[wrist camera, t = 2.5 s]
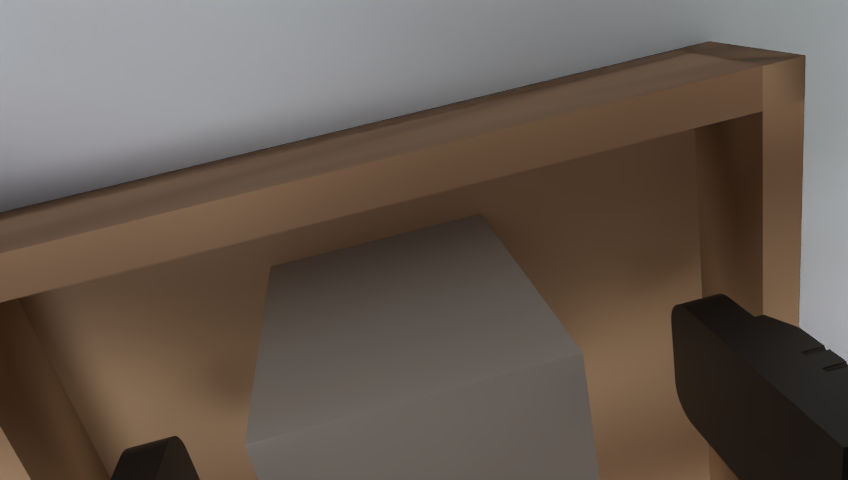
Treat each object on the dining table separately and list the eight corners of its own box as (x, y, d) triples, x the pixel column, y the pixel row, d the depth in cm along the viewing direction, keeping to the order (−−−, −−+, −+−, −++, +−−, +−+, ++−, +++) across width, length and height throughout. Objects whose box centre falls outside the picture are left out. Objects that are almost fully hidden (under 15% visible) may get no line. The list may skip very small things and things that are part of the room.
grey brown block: (270, 266, 12) (243, 445, 7) (480, 213, 12) (582, 352, 8) (327, 438, 13) (335, 674, 9) (512, 387, 14) (613, 590, 9)
